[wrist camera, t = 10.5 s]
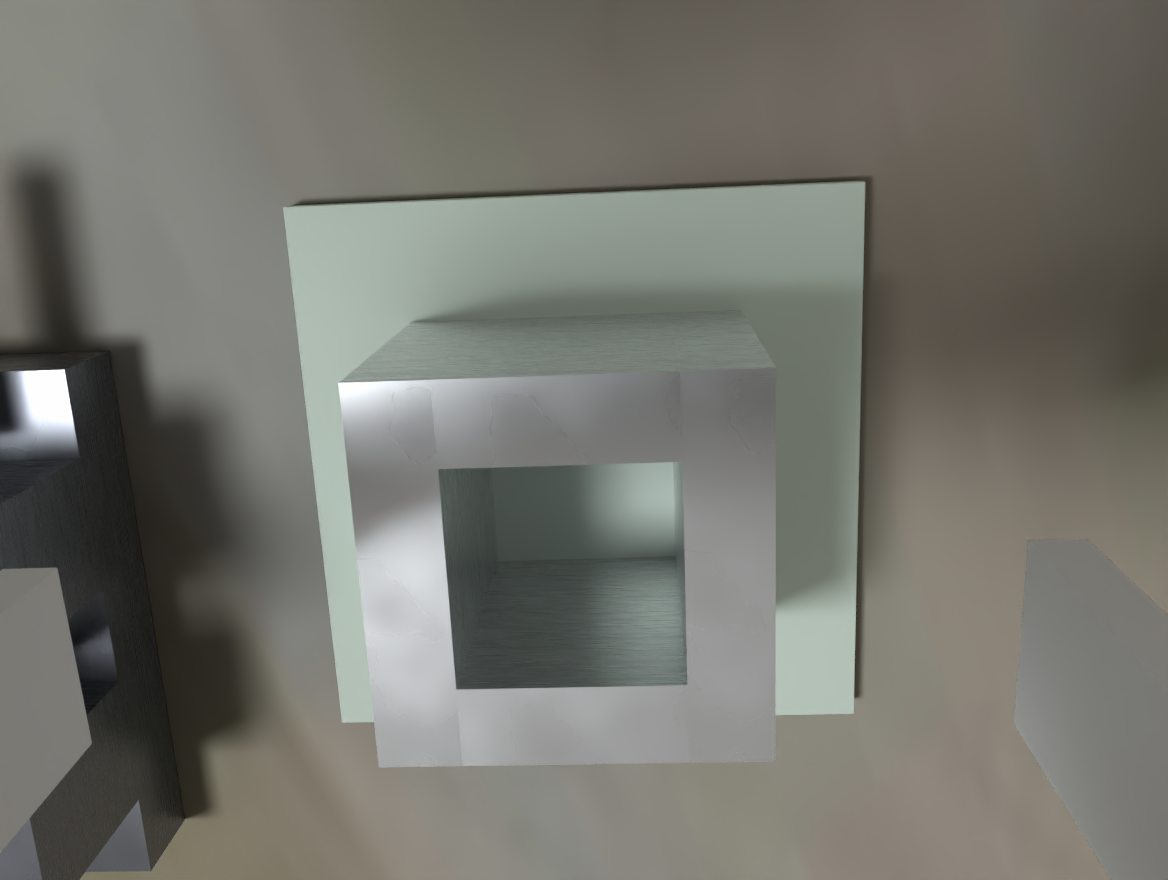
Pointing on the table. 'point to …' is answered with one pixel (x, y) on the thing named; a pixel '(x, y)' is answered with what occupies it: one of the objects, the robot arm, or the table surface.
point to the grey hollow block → (565, 586)
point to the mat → (602, 287)
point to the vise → (87, 616)
